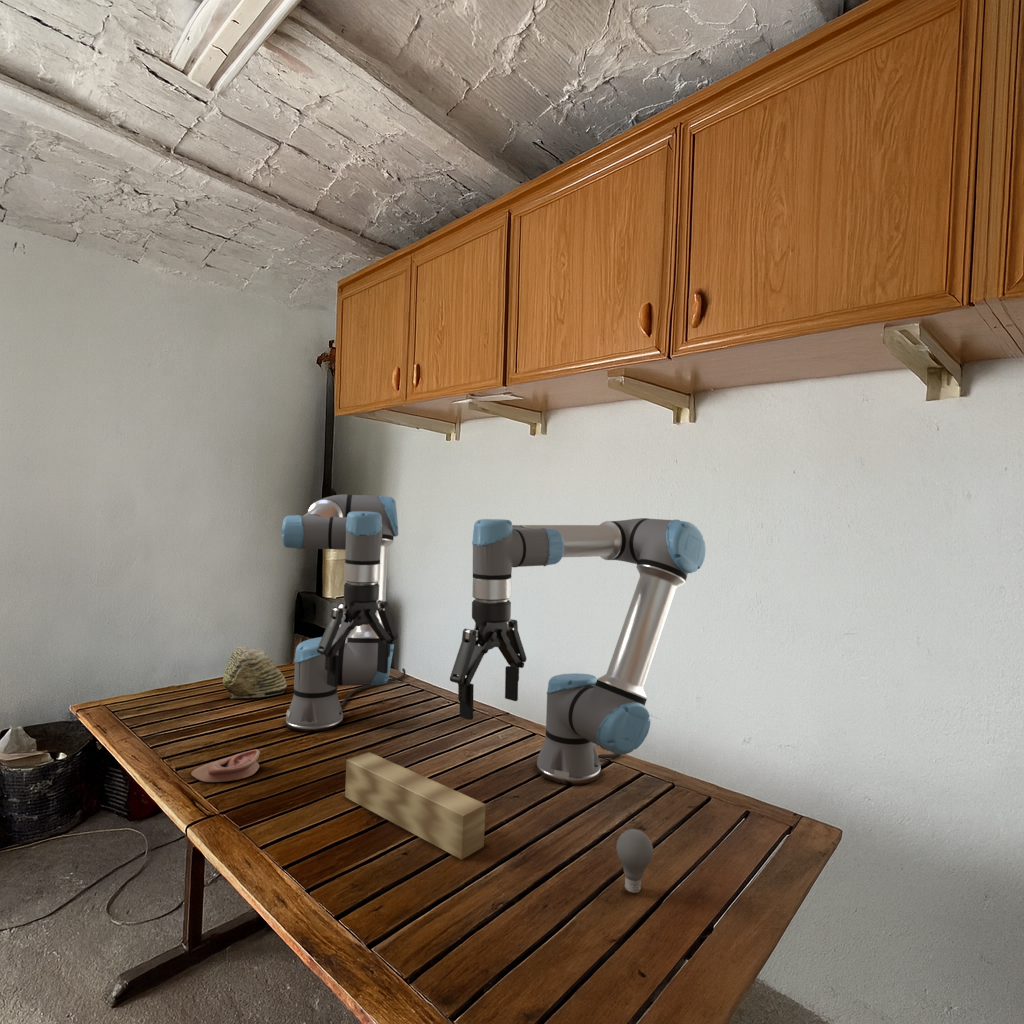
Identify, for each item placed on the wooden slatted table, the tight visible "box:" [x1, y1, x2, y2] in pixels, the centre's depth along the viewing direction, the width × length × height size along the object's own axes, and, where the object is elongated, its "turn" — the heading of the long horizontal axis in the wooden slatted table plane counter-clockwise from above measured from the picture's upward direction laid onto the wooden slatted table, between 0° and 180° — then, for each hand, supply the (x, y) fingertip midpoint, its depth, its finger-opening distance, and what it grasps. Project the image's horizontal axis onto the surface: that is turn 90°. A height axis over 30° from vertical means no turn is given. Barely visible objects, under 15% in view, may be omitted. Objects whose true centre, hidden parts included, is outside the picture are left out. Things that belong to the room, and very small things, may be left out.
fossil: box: [222, 646, 288, 699], centre depth 198 cm, size 9×18×15 cm, turn 132°
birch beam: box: [344, 751, 487, 861], centre depth 126 cm, size 34×6×8 cm, turn 51°
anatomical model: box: [190, 748, 261, 783], centre depth 143 cm, size 13×4×12 cm
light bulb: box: [615, 828, 654, 894], centre depth 106 cm, size 6×6×10 cm
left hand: (358, 678), depth 139 cm, fingers open, 13 cm apart
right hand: (489, 708), depth 123 cm, fingers open, 13 cm apart
